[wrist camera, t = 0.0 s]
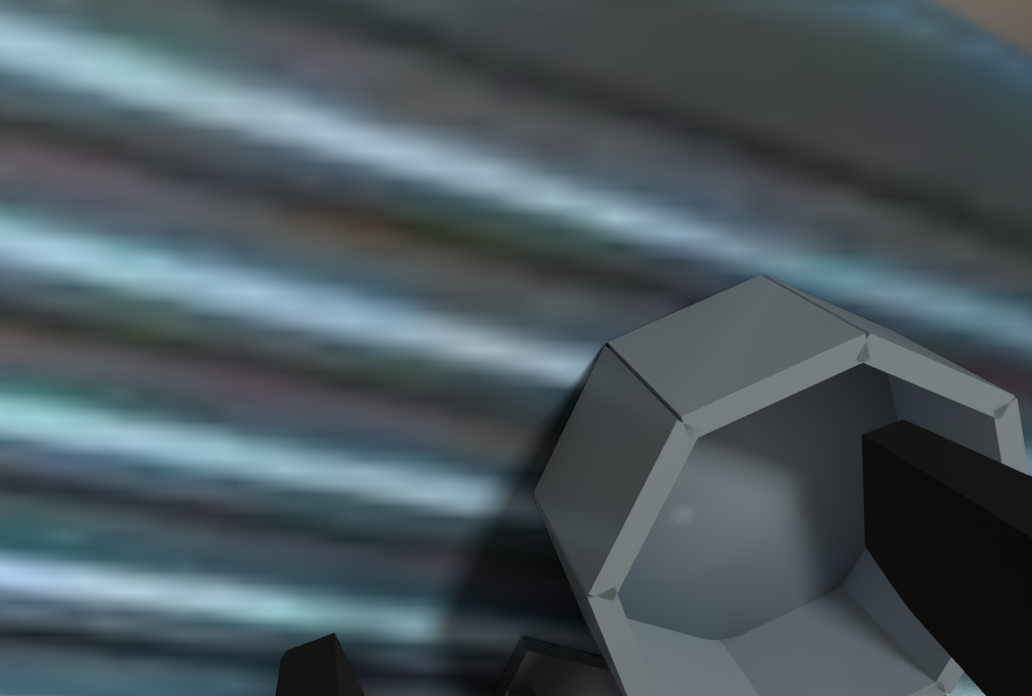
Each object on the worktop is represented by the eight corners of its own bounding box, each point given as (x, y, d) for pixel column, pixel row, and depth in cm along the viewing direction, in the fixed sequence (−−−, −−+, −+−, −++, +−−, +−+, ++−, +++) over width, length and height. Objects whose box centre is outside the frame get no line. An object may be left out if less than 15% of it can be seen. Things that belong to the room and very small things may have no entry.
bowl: (797, 676, 28) (888, 793, 24) (484, 594, 25) (527, 713, 20) (976, 367, 26) (1110, 437, 22) (660, 229, 22) (748, 280, 18)
